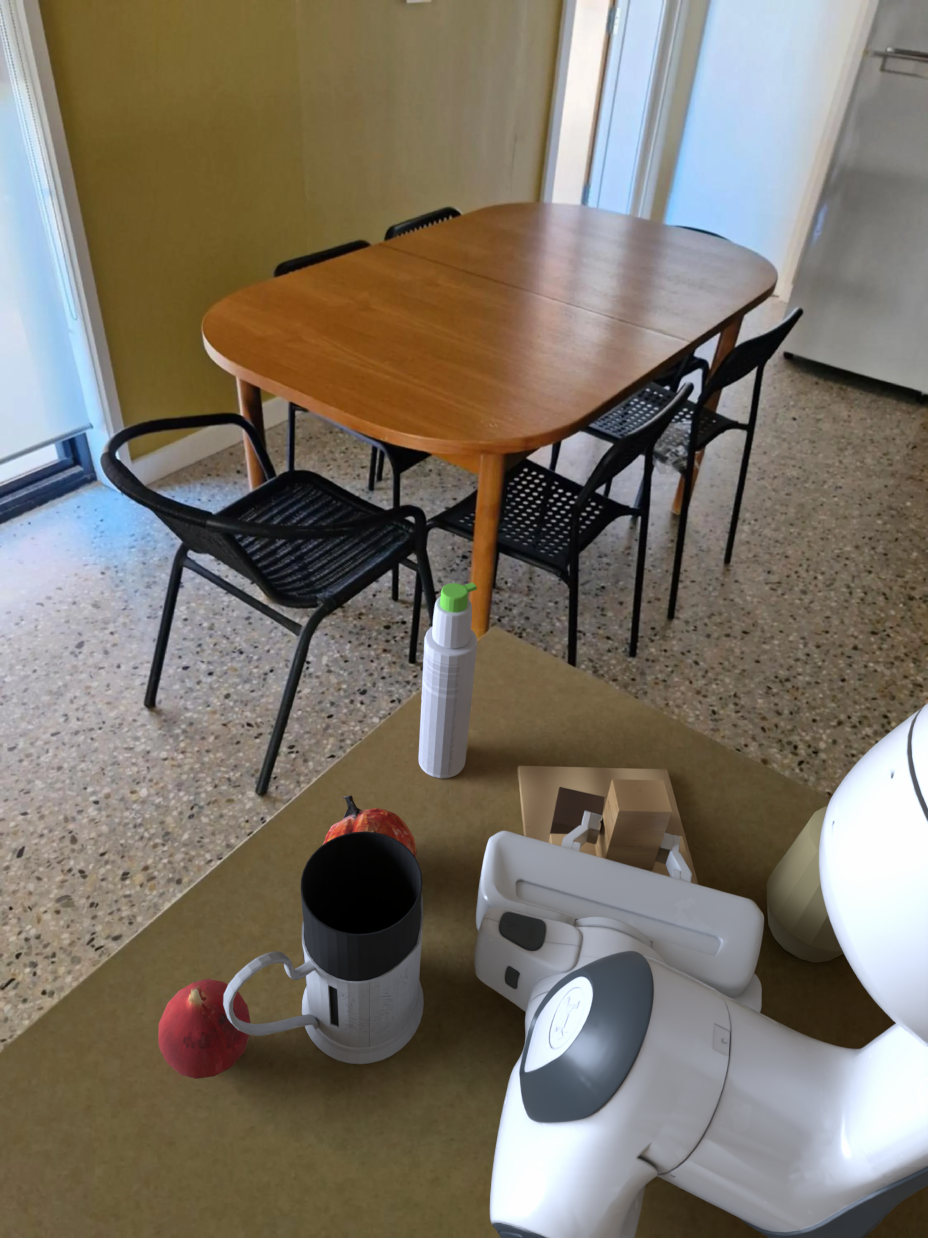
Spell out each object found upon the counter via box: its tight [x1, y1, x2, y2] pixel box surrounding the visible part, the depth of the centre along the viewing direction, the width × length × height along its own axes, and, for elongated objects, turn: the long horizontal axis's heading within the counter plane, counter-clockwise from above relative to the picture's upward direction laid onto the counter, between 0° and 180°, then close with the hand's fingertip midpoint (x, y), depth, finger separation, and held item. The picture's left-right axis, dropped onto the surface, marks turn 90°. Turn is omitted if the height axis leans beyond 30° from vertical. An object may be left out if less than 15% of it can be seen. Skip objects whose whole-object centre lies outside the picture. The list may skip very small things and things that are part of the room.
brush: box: [548, 779, 695, 884], centre depth 69 cm, size 11×5×11 cm, turn 92°
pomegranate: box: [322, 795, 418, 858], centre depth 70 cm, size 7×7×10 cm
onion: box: [157, 978, 252, 1080], centre depth 58 cm, size 6×6×8 cm
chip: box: [550, 787, 604, 834], centre depth 76 cm, size 4×4×2 cm
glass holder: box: [223, 831, 425, 1065], centre depth 58 cm, size 9×14×15 cm, turn 131°
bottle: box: [418, 581, 478, 779], centre depth 76 cm, size 4×4×20 cm
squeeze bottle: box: [766, 805, 845, 963], centre depth 66 cm, size 8×8×18 cm
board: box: [517, 765, 699, 885], centre depth 75 cm, size 14×20×1 cm
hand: (630, 828), depth 69 cm, fingers closed on brush, 5 cm apart
